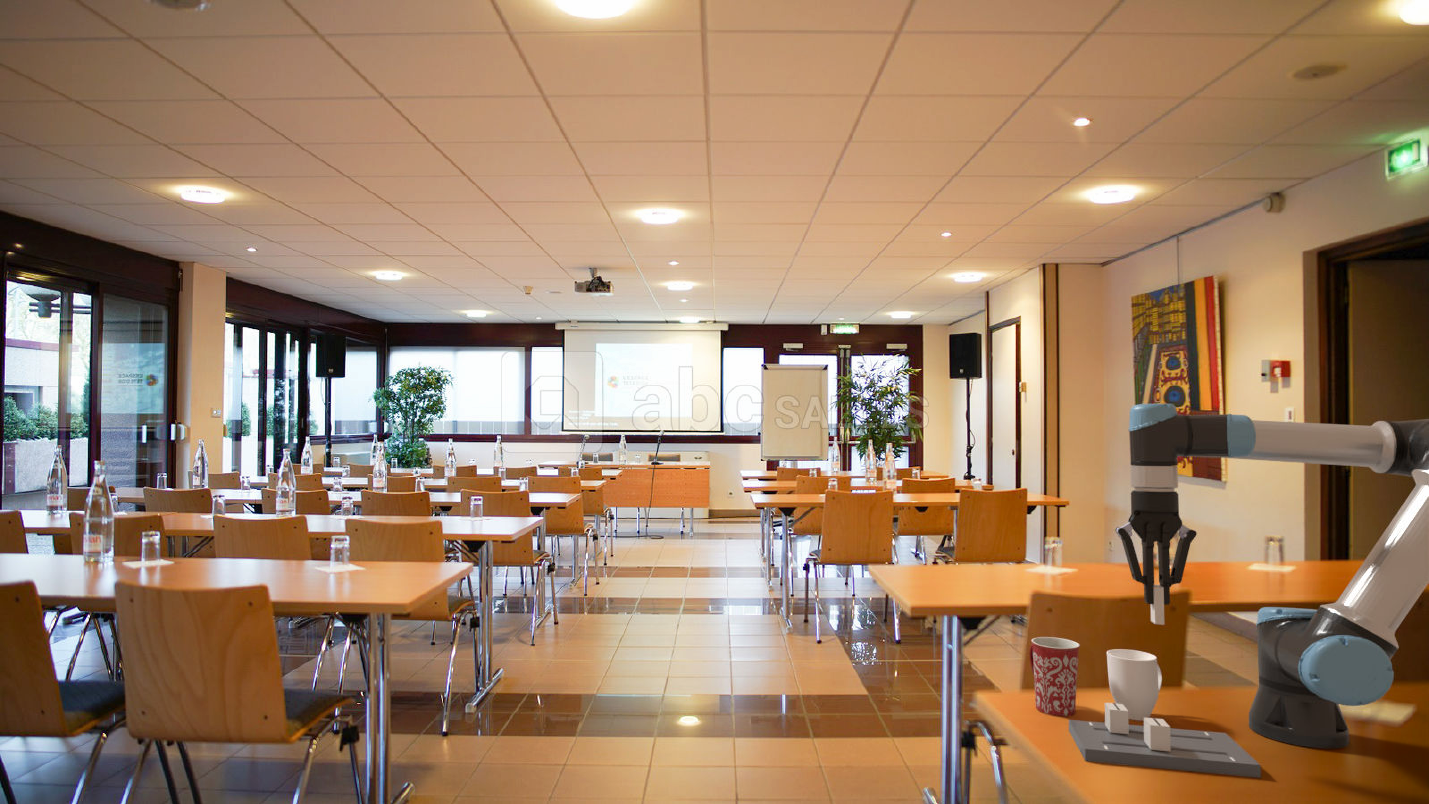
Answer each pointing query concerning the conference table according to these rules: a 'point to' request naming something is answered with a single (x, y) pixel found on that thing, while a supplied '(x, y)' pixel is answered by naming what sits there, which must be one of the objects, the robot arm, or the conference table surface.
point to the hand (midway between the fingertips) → (1157, 622)
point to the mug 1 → (1055, 674)
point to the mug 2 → (1134, 681)
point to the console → (1185, 751)
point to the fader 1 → (1116, 718)
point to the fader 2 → (1157, 734)
